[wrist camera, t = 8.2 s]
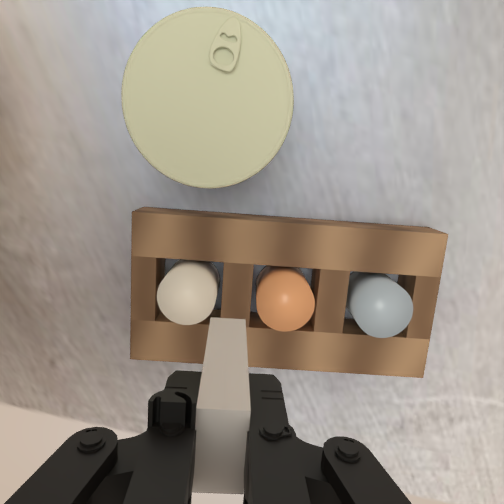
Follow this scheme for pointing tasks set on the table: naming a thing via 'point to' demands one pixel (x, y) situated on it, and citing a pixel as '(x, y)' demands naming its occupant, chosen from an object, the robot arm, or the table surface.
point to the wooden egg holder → (289, 255)
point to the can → (207, 97)
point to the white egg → (189, 291)
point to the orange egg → (284, 298)
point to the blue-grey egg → (378, 304)
